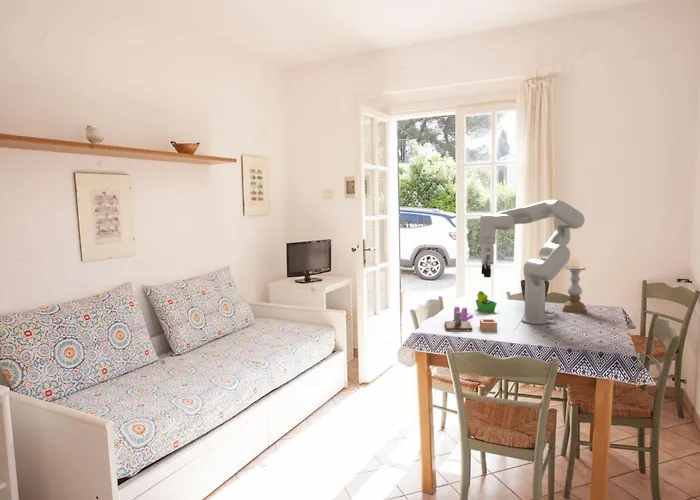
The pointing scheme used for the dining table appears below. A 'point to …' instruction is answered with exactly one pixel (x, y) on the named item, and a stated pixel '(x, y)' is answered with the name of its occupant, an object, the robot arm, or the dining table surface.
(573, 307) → the candle holder
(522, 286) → the plant pot
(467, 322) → the post stand
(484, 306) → the fruit basket
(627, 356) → the dining table surface
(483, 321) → the collar
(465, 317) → the bracket
